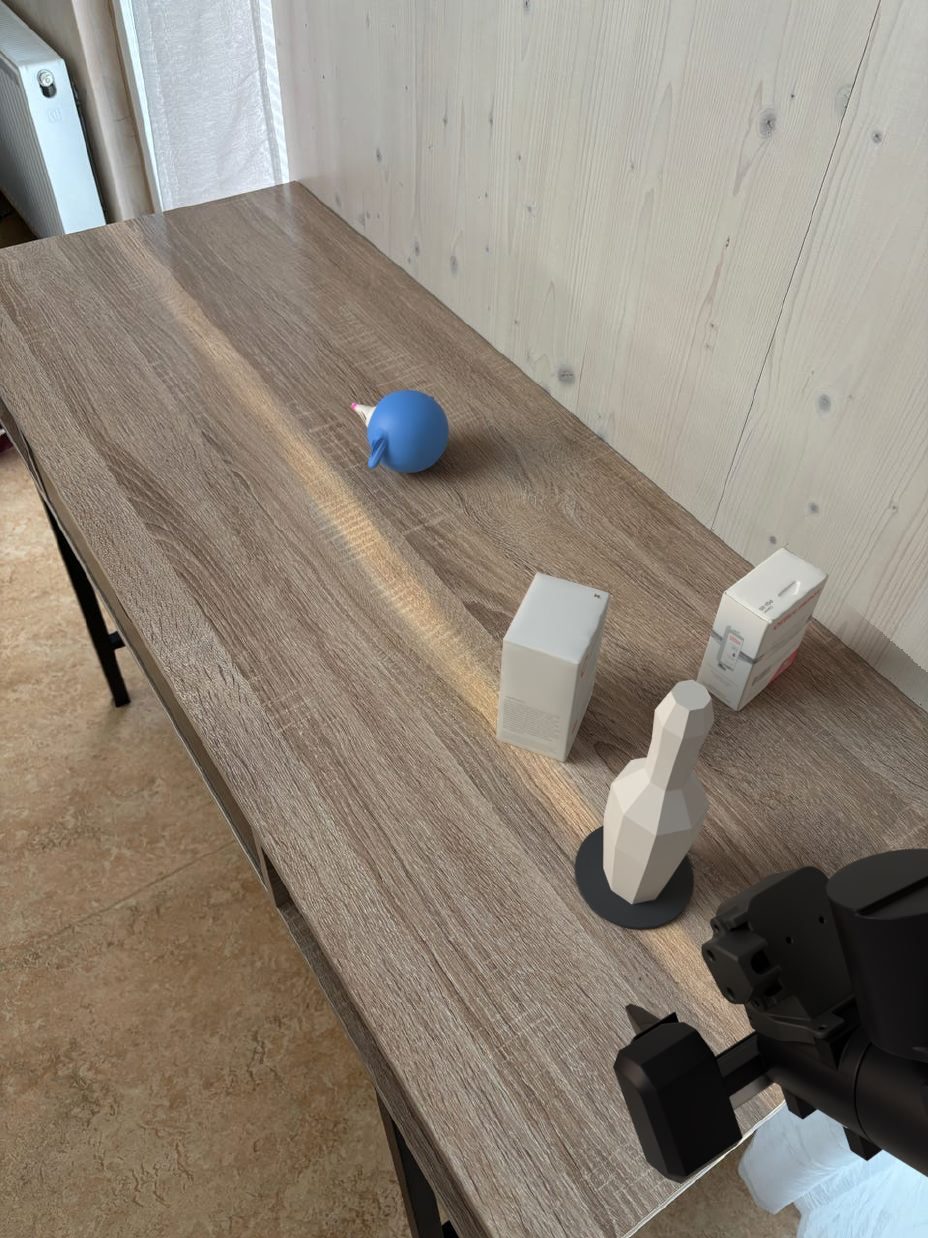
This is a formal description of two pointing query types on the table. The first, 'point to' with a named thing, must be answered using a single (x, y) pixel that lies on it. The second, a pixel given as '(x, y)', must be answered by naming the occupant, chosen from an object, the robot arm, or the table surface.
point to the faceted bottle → (658, 799)
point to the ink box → (760, 627)
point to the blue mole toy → (405, 431)
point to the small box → (550, 665)
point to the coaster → (617, 908)
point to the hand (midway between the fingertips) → (694, 973)
